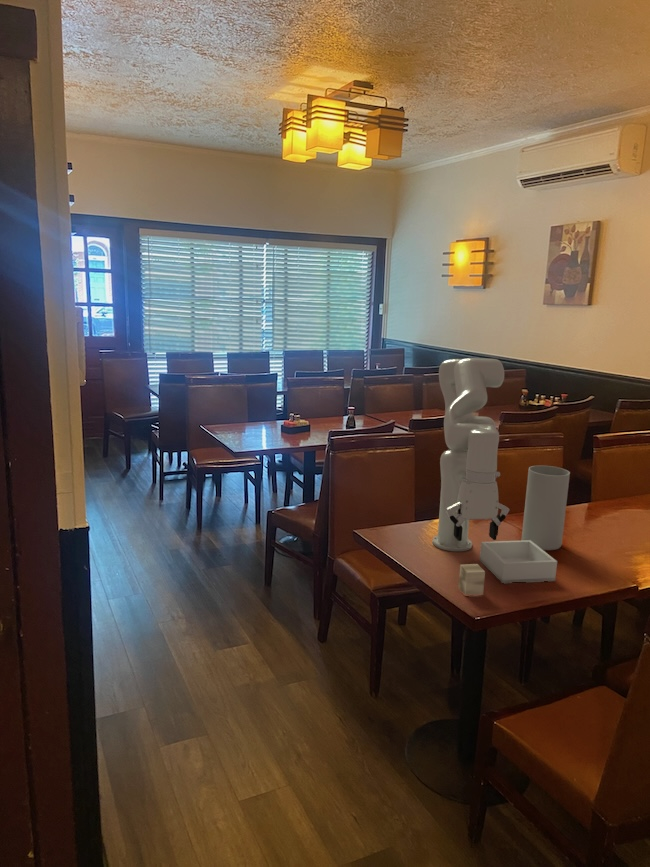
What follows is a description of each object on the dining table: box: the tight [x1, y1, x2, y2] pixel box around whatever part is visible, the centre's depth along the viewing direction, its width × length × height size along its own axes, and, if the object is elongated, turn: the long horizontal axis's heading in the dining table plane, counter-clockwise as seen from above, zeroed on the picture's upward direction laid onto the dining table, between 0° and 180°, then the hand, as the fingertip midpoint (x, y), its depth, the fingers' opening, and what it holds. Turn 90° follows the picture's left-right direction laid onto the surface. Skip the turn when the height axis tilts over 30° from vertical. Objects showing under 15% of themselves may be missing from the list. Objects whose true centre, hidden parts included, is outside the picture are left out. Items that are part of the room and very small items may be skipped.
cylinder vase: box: [521, 465, 571, 551], centre depth 203 cm, size 12×12×25 cm
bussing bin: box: [479, 539, 558, 584], centre depth 184 cm, size 16×16×6 cm
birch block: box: [458, 563, 486, 596], centre depth 169 cm, size 5×5×7 cm
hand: (475, 538), depth 166 cm, fingers open, 9 cm apart
